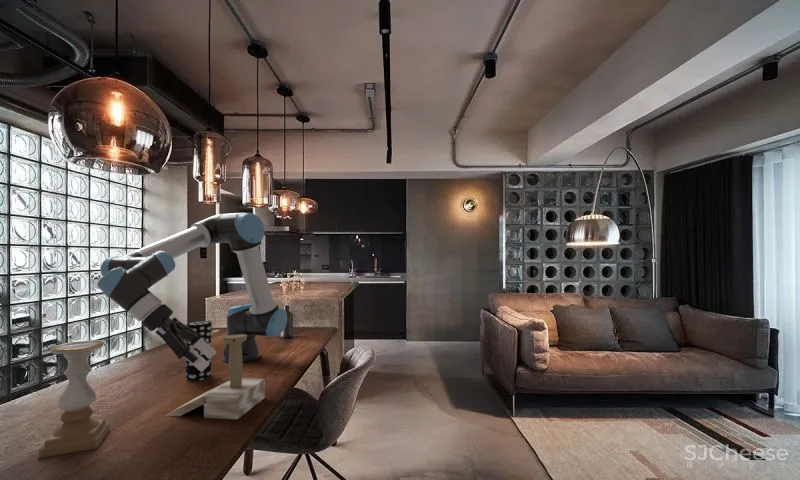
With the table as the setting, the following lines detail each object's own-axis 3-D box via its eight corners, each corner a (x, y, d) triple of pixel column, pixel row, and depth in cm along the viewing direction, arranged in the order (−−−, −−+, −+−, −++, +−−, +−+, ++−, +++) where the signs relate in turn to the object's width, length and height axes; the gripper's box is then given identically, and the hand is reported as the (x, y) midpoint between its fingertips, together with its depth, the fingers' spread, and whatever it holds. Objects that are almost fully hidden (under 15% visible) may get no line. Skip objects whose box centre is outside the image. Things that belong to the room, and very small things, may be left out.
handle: (245, 388, 114) (245, 337, 115) (222, 390, 113) (222, 338, 113) (248, 382, 119) (248, 333, 120) (226, 384, 118) (225, 335, 118)
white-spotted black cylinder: (189, 382, 137) (189, 326, 138) (183, 377, 144) (184, 323, 144) (214, 377, 143) (214, 323, 144) (207, 372, 149) (208, 320, 150)
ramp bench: (200, 400, 126) (201, 376, 126) (264, 403, 123) (264, 378, 123) (164, 421, 110) (165, 394, 110) (237, 425, 107) (237, 397, 107)
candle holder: (37, 458, 87) (39, 352, 88) (57, 437, 97) (59, 342, 98) (97, 448, 92) (98, 347, 92) (110, 429, 102) (111, 337, 102)
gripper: (154, 315, 121) (206, 360, 125) (124, 331, 97) (190, 385, 101) (173, 297, 122) (224, 342, 126) (149, 309, 99) (213, 363, 103)
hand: (209, 361), depth 114 cm, fingers open, 13 cm apart
